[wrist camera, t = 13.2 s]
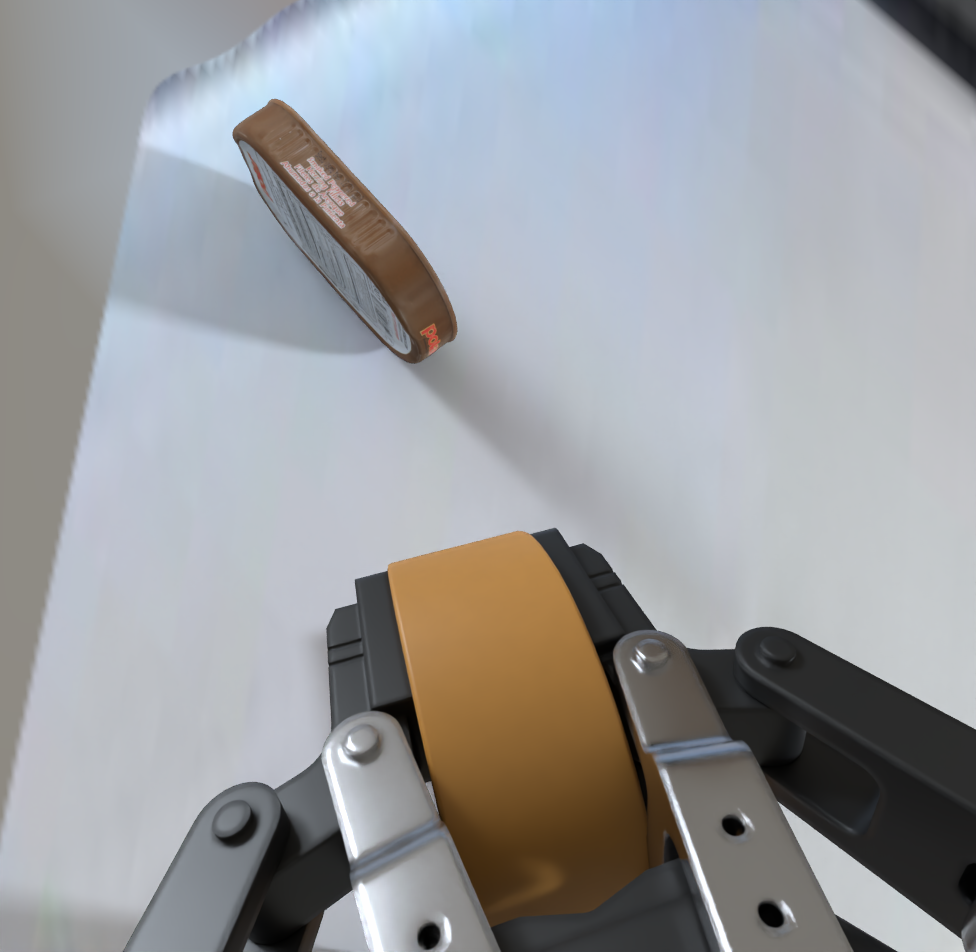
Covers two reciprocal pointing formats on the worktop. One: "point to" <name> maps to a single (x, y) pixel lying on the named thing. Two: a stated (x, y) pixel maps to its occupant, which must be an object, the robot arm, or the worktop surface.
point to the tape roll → (519, 729)
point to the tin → (346, 233)
